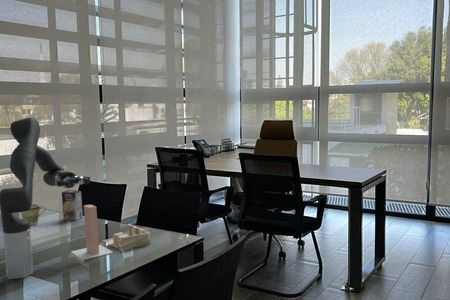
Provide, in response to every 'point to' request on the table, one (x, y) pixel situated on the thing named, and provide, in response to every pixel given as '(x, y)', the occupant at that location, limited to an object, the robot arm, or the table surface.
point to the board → (91, 229)
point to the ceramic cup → (32, 214)
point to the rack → (132, 238)
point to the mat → (83, 253)
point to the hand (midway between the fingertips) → (78, 182)
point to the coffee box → (72, 205)
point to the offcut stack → (118, 239)
